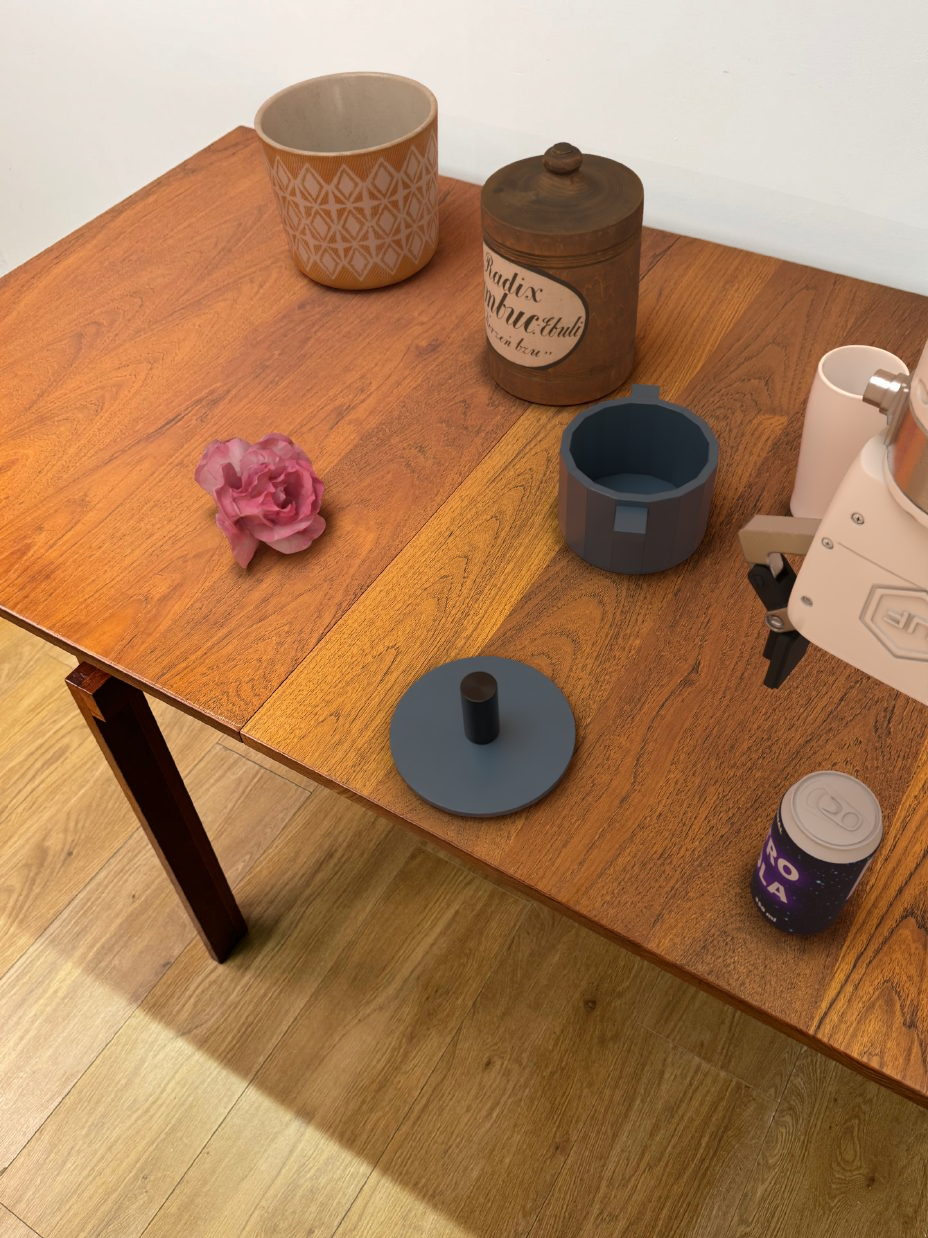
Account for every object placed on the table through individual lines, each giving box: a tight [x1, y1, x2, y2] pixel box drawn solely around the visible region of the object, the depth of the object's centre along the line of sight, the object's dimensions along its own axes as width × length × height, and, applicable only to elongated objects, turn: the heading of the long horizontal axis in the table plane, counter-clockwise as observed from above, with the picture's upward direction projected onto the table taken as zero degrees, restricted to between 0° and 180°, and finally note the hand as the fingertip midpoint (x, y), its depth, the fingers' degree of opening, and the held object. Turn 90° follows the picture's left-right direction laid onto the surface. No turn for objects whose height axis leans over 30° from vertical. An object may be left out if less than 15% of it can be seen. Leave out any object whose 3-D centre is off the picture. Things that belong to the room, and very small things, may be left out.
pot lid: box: [388, 655, 577, 818], centre depth 71 cm, size 14×14×7 cm
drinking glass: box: [789, 344, 911, 519], centre depth 80 cm, size 7×7×15 cm
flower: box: [194, 432, 327, 569], centre depth 86 cm, size 11×10×10 cm
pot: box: [557, 383, 720, 576], centre depth 84 cm, size 13×18×8 cm
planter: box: [253, 71, 440, 291], centre depth 111 cm, size 19×19×16 cm
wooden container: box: [479, 141, 645, 406], centre depth 93 cm, size 15×15×22 cm
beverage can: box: [750, 770, 884, 936], centre depth 60 cm, size 6×6×12 cm
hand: (872, 720), depth 48 cm, fingers open, 9 cm apart
